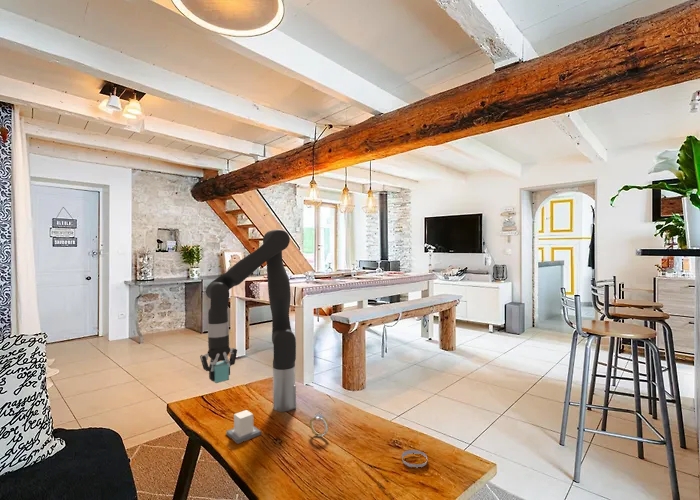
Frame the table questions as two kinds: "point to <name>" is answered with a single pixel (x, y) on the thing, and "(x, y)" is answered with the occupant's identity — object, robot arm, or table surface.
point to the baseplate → (247, 436)
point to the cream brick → (243, 422)
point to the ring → (320, 416)
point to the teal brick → (221, 372)
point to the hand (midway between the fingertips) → (219, 378)
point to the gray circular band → (414, 453)
